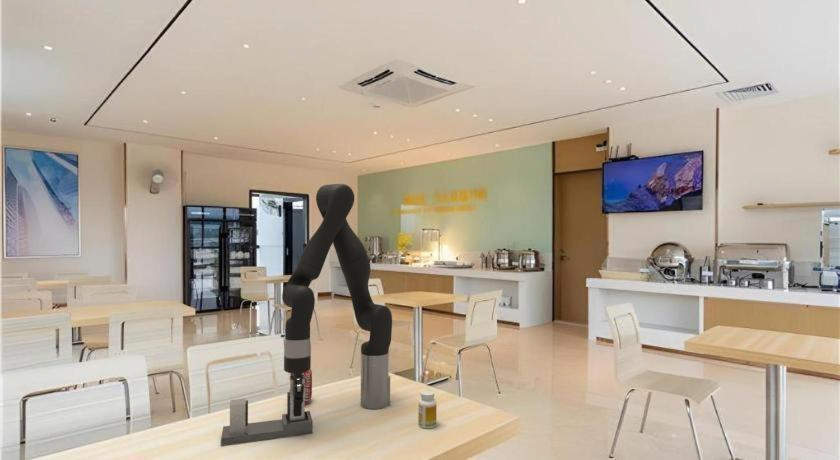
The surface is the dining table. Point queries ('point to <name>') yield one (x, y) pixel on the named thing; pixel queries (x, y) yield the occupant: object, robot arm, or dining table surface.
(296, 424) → the rail
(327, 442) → the dining table surface
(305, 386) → the soda can
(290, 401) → the block
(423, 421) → the supplement bottle
